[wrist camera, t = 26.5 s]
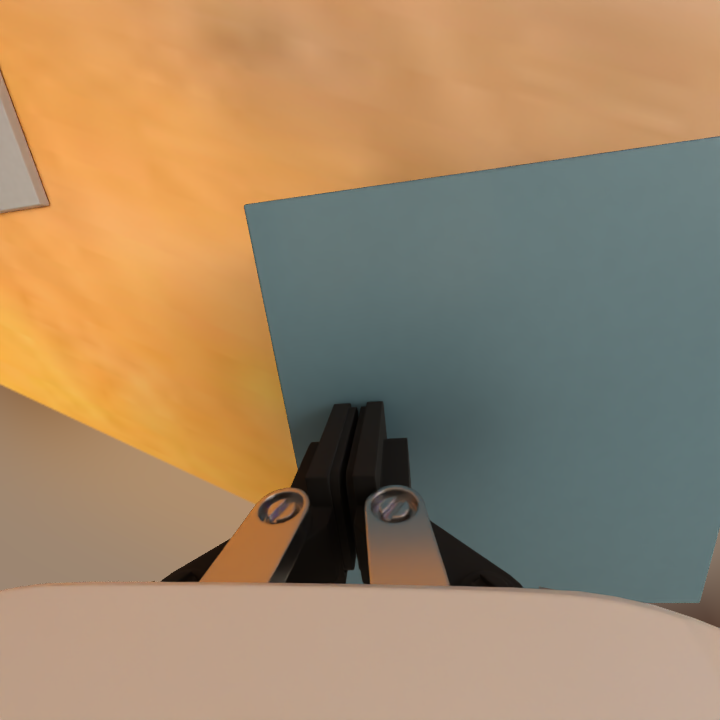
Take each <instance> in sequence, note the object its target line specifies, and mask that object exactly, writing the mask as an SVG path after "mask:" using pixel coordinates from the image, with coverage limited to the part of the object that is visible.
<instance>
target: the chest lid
mask: <svg viewBox="0 0 720 720" xmlns="http://www.w3.org/2000/svg"><path fill="white" fill-rule="evenodd" d="M244 209H245V214H246V219H247V224H248V229H249V234H250V238H251V243H252V248H253V253H254V258H255V263H256V268H257V273H258V277H259V282H260V287H261V292H262V297H263V302H264V307H265V312H266V316H267V321H268V326H269V331H270V336H271V341H272V346H273V351H274V355H275V360H276V365H277V370H278V375H279V380H280V385H281V390H282V394H283V399H284V404H285V409H286V414H287V419H288V424H289V428H290V433H291V438H292V443H293V448H294V453H295V458H296V463H297V467H298V469H299V467H300V465H301V462H302V460H303V458H304V455H305V453H306V451H307V449H308V446H309V444H310V443H311V442H319V441H320V439H321V436H322V434H323V431H324V428H325V426H326V423H327V421H328V418H329V416H330V413H331V411H332V408H333V406H334V404H344V403H350V404H351V406H352V407H357V410H358V417H359V413H360V408H361V407H363V406H366V403H367V402H377V401H383V404H384V413H385V423H386V432H387V439H389V438H407V440H408V451H409V463H410V477H411V488H412V489H414V490H415V491H417V492H418V493H419V494H420V495H421V497H422V499H423V500H424V503H425V507H426V510H427V513H428V516H429V519H430V521H432V522H433V523H435V524H436V525H438V526H439V527H441V528H442V529H444V530H445V531H446V532H448V533H449V534H451V535H452V536H454V537H455V538H457V539H458V540H460V541H461V542H463V543H464V544H466V545H467V546H468V547H470V548H471V549H473V550H474V551H476V552H477V553H479V554H480V555H482V556H483V557H485V558H486V559H488V560H489V561H490V562H492V563H493V564H495V565H496V566H498V567H499V568H501V569H502V570H504V571H505V572H507V573H508V574H510V575H511V576H512V577H513V578H514V579H516V580H517V581H518V582H519V583H520V584H521V585H522V586H523V588H531V589H539V586H540V587H545V588H550V589H554V590H565V591H581V592H588V593H595V594H602V595H609V596H616V597H620V598H625V599H629V600H633V601H638V602H642V603H699V602H700V599H701V595H702V592H703V588H704V584H705V581H706V577H707V573H708V569H709V566H710V562H711V558H712V554H713V551H714V547H715V543H716V539H717V536H718V532H719V528H720V136H718V137H711V138H704V139H697V140H690V141H683V142H676V143H669V144H662V145H655V146H648V147H641V148H634V149H628V150H621V151H614V152H607V153H600V154H593V155H586V156H579V157H572V158H565V159H558V160H551V161H544V162H537V163H530V164H523V165H516V166H509V167H502V168H496V169H489V170H482V171H475V172H468V173H461V174H454V175H447V176H440V177H433V178H426V179H419V180H412V181H405V182H398V183H391V184H384V185H377V186H370V187H363V188H357V189H350V190H343V191H336V192H329V193H322V194H315V195H308V196H301V197H294V198H287V199H280V200H273V201H266V202H259V203H252V204H246V205H244ZM346 584H364V583H363V582H362V577H361V571H360V570H359V566H358V560H357V554H356V562H355V568H354V570H348V572H347V579H346Z"/></svg>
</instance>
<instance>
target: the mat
mask: <svg viewBox="0 0 720 720" xmlns="http://www.w3.org/2000/svg"><path fill="white" fill-rule="evenodd" d="M48 205H49V202H48V199H47V197H46V194H45V191H44V188H43V186H42V183H41V180H40V178H39V175H38V172H37V169H36V167H35V164H34V161H33V159H32V156H31V153H30V150H29V148H28V145H27V142H26V140H25V137H24V134H23V131H22V129H21V126H20V123H19V121H18V118H17V115H16V112H15V110H14V107H13V104H12V102H11V99H10V96H9V93H8V91H7V88H6V85H5V83H4V80H3V77H2V74H1V72H0V213H5V212H11V211H17V210H24V209H30V208H36V207H42V206H48Z"/></svg>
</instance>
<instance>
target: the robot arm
mask: <svg viewBox="0 0 720 720" xmlns="http://www.w3.org/2000/svg"><path fill="white" fill-rule="evenodd" d="M356 554H357V560H358V566H359V570H360V571H361V577H362V582H363V583H364V584H346V579H347V572H348V570H354V568H355V562H356ZM0 720H720V628H717V627H715V626H712V625H710V624H707V623H705V622H703V621H700V620H698V619H695V618H691V617H689V616H686V615H683V614H680V613H676V612H673V611H670V610H667V609H664V608H661V607H658V606H655V605H652V604H647V603H642V602H638V601H633V600H629V599H625V598H620V597H616V596H609V595H602V594H595V593H588V592H581V591H565V590H554V589H550V588H545V587H540V586H539V589H531V588H523V586H522V585H521V584H520V583H519V582H518V581H517V580H516V579H514V578H513V577H512V576H511V575H510V574H508V573H507V572H505V571H504V570H502V569H501V568H499V567H498V566H496V565H495V564H493V563H492V562H490V561H489V560H488V559H486V558H485V557H483V556H482V555H480V554H479V553H477V552H476V551H474V550H473V549H471V548H470V547H468V546H467V545H466V544H464V543H463V542H461V541H460V540H458V539H457V538H455V537H454V536H452V535H451V534H449V533H448V532H446V531H445V530H444V529H442V528H441V527H439V526H438V525H436V524H435V523H433V522H432V521H430V519H429V516H428V513H427V510H426V507H425V503H424V500H423V499H422V497H421V495H420V494H419V493H418V492H417V491H415V490H414V489H412V488H411V477H410V463H409V451H408V440H407V438H389V439H387V432H386V423H385V413H384V404H383V401H377V402H367V403H366V406H363V407H361V408H360V413H359V417H358V410H357V407H352V406H351V404H350V403H344V404H334V406H333V408H332V411H331V413H330V416H329V418H328V421H327V423H326V426H325V428H324V431H323V434H322V436H321V439H320V441H319V442H311V443H310V444H309V446H308V449H307V451H306V453H305V455H304V458H303V460H302V462H301V465H300V467H299V469H298V471H297V474H296V476H295V478H294V480H293V483H292V485H291V487H290V488H283V489H279V490H276V491H273V492H271V493H269V494H267V495H266V496H264V497H263V498H262V499H261V500H260V501H259V502H258V503H257V504H256V505H255V506H254V508H253V509H252V511H251V512H250V513H249V515H248V516H247V517H246V519H245V520H244V521H243V523H242V524H241V525H240V527H239V528H238V530H237V531H236V532H235V534H234V535H233V537H232V538H231V539H229V540H227V541H226V542H224V543H222V544H220V545H219V546H217V547H215V548H214V549H212V550H210V551H209V552H207V553H205V554H204V555H202V556H200V557H198V558H197V559H195V560H193V561H192V562H190V563H188V564H186V565H185V566H183V567H181V568H180V569H178V570H176V571H174V572H173V573H171V574H170V575H169V576H167V577H166V578H164V579H163V580H162V581H161V582H155V581H153V582H74V583H73V582H72V583H45V584H37V585H28V586H20V587H15V588H10V589H6V590H1V591H0Z"/></svg>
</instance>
